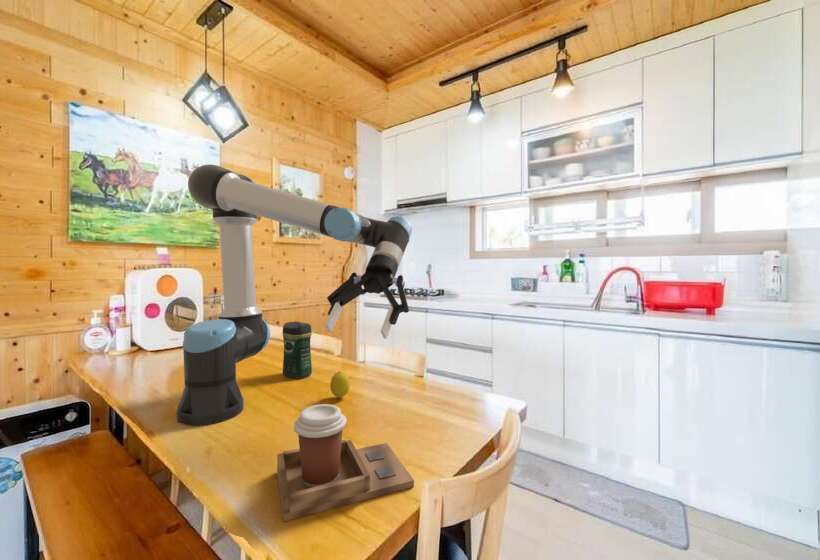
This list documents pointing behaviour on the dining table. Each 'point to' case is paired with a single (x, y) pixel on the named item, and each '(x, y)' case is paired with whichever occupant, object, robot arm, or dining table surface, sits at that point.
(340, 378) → the lemon
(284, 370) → the coffee jar
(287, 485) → the wooden tray
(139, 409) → the dining table surface
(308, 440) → the coffee cup
